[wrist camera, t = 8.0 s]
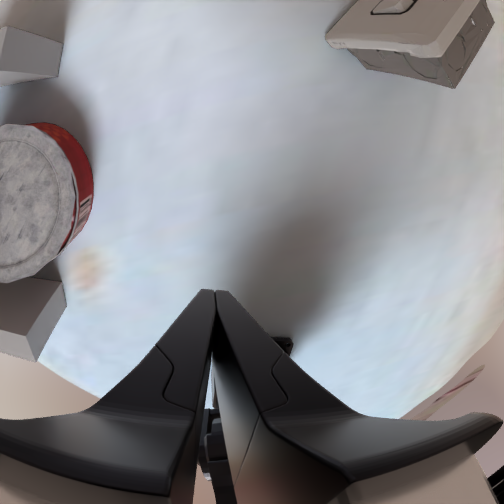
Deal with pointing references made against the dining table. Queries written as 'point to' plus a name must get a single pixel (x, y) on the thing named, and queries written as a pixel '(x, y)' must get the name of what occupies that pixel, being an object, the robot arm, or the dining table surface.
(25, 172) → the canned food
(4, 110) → the dining table surface
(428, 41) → the electrical switch
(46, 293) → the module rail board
